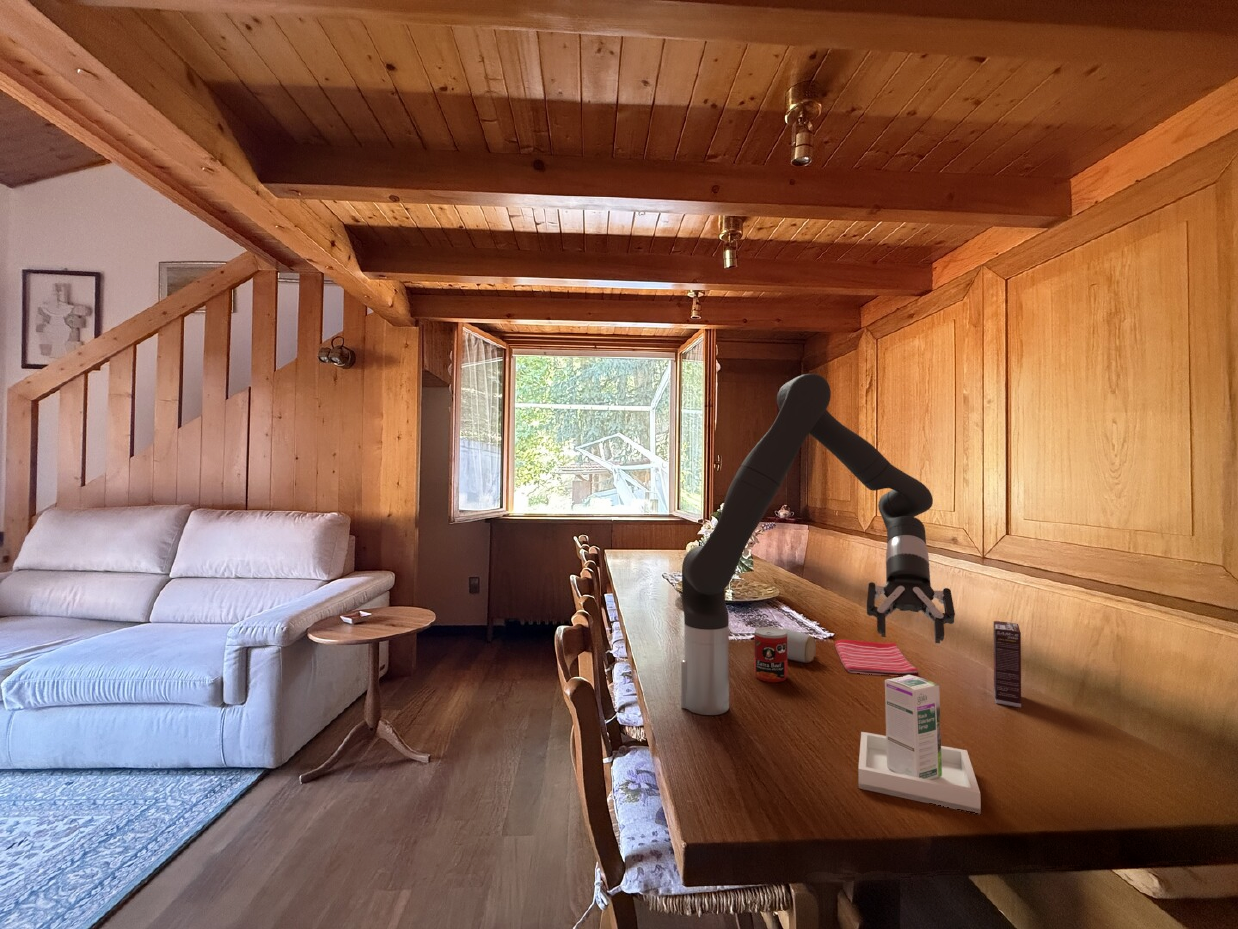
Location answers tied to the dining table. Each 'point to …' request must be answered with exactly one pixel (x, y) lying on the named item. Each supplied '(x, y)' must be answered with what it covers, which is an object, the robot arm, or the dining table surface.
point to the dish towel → (873, 658)
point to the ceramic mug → (800, 646)
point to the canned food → (770, 654)
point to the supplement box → (1007, 663)
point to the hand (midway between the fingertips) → (910, 638)
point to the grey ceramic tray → (947, 790)
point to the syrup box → (913, 727)
